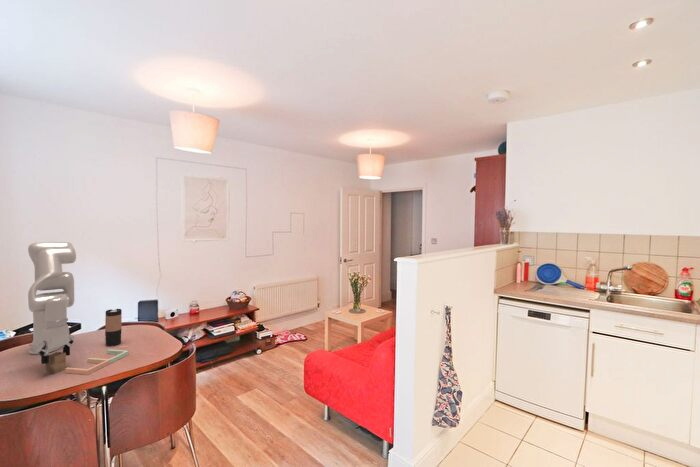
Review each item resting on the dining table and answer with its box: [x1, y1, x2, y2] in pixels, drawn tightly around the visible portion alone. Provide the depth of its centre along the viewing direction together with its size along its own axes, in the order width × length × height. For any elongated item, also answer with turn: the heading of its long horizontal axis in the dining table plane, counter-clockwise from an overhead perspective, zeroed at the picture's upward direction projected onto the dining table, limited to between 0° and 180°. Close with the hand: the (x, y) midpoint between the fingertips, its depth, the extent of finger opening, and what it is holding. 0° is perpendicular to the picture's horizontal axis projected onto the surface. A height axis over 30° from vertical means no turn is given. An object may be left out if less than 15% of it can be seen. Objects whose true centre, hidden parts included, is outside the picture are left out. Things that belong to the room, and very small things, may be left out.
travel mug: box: [104, 308, 123, 347], centre depth 183 cm, size 8×8×20 cm
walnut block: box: [45, 351, 67, 375], centre depth 150 cm, size 5×5×8 cm
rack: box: [64, 348, 130, 376], centre depth 159 cm, size 12×24×2 cm, turn 174°
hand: (56, 359), depth 149 cm, fingers open, 9 cm apart
